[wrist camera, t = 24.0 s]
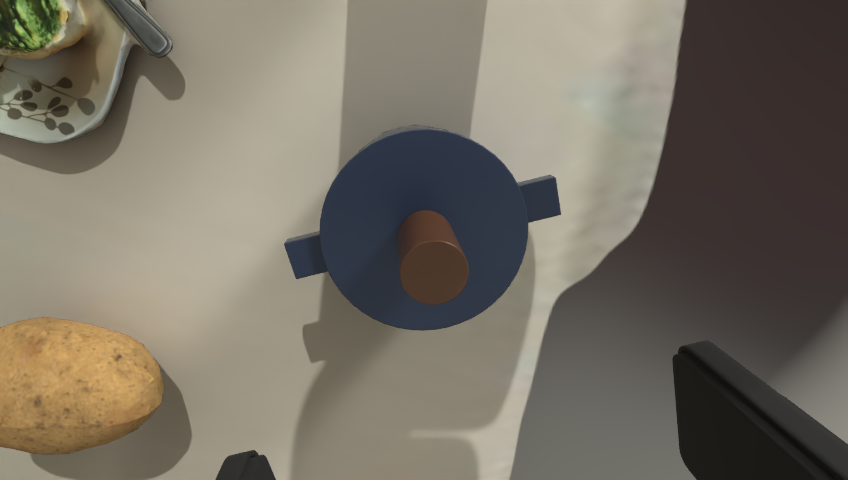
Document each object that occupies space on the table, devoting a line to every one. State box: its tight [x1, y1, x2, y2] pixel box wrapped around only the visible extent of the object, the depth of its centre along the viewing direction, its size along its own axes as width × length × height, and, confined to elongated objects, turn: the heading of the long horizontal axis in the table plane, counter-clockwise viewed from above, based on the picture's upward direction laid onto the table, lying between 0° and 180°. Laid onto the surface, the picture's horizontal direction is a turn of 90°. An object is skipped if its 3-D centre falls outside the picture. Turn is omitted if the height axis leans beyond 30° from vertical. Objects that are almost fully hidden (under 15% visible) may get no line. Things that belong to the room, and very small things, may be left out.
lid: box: [320, 129, 528, 330], centre depth 25 cm, size 12×12×7 cm
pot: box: [284, 125, 561, 279], centre depth 31 cm, size 11×17×8 cm
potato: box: [0, 317, 164, 454], centre depth 33 cm, size 10×14×8 cm
